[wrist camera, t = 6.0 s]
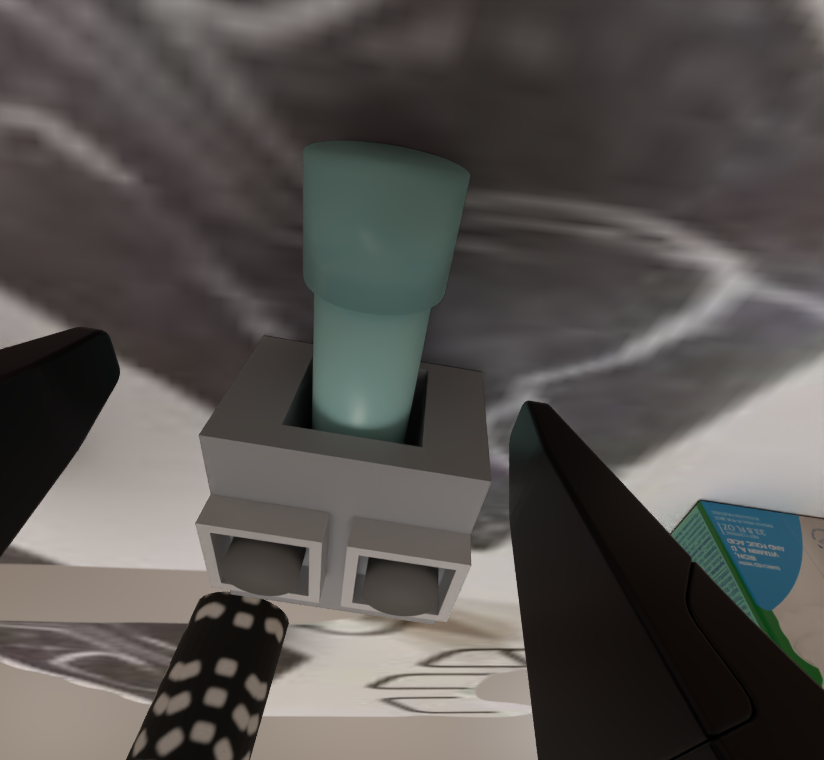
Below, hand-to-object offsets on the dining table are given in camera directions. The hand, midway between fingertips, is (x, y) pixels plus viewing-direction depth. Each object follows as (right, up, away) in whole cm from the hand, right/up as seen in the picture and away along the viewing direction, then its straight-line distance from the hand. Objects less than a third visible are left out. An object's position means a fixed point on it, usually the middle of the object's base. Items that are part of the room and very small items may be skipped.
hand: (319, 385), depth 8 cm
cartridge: (0, +1, +14) cm, 14 cm away
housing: (-1, -3, +18) cm, 18 cm away
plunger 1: (-5, -7, +12) cm, 15 cm away
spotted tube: (-14, -21, +33) cm, 41 cm away
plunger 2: (+1, -8, +12) cm, 15 cm away
